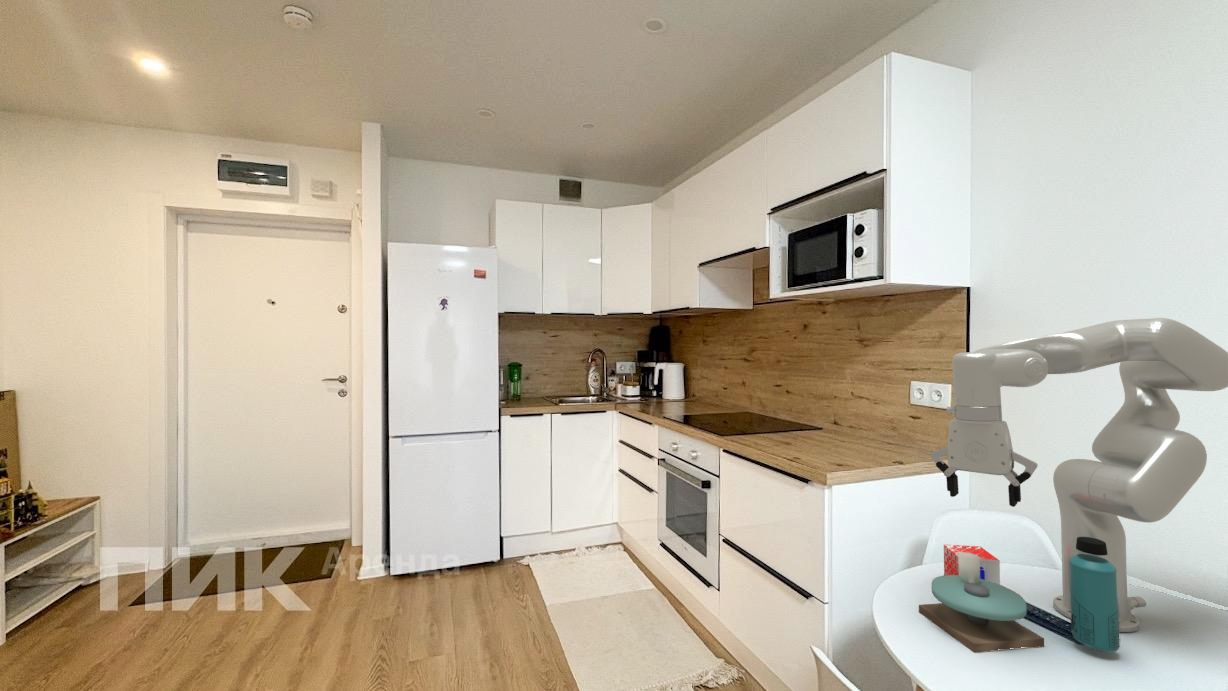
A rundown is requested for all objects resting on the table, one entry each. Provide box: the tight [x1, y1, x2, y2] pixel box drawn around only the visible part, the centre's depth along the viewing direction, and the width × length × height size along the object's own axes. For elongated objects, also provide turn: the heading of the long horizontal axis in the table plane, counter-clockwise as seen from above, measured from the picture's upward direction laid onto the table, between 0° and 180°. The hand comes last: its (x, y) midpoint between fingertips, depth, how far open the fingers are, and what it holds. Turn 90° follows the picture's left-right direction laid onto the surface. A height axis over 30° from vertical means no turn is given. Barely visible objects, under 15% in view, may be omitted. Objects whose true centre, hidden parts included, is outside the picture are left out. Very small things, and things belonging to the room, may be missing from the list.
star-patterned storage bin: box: [943, 543, 1001, 585], centre depth 114 cm, size 8×8×8 cm
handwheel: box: [931, 552, 1028, 621], centre depth 97 cm, size 15×15×6 cm
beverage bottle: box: [1069, 537, 1121, 653], centre depth 90 cm, size 6×7×20 cm
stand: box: [918, 602, 1045, 653], centre depth 97 cm, size 14×14×5 cm
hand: (982, 499), depth 98 cm, fingers open, 9 cm apart
